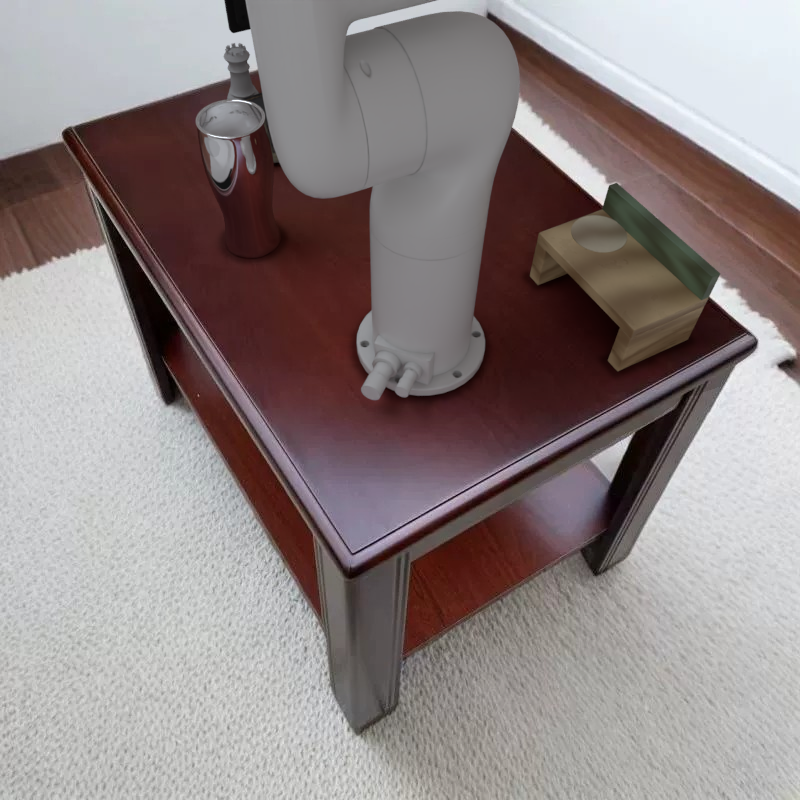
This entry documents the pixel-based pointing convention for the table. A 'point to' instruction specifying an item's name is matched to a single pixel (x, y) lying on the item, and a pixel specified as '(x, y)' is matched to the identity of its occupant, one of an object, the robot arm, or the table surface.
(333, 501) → the table surface
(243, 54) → the rook chess piece
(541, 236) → the shelf
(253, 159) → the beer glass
